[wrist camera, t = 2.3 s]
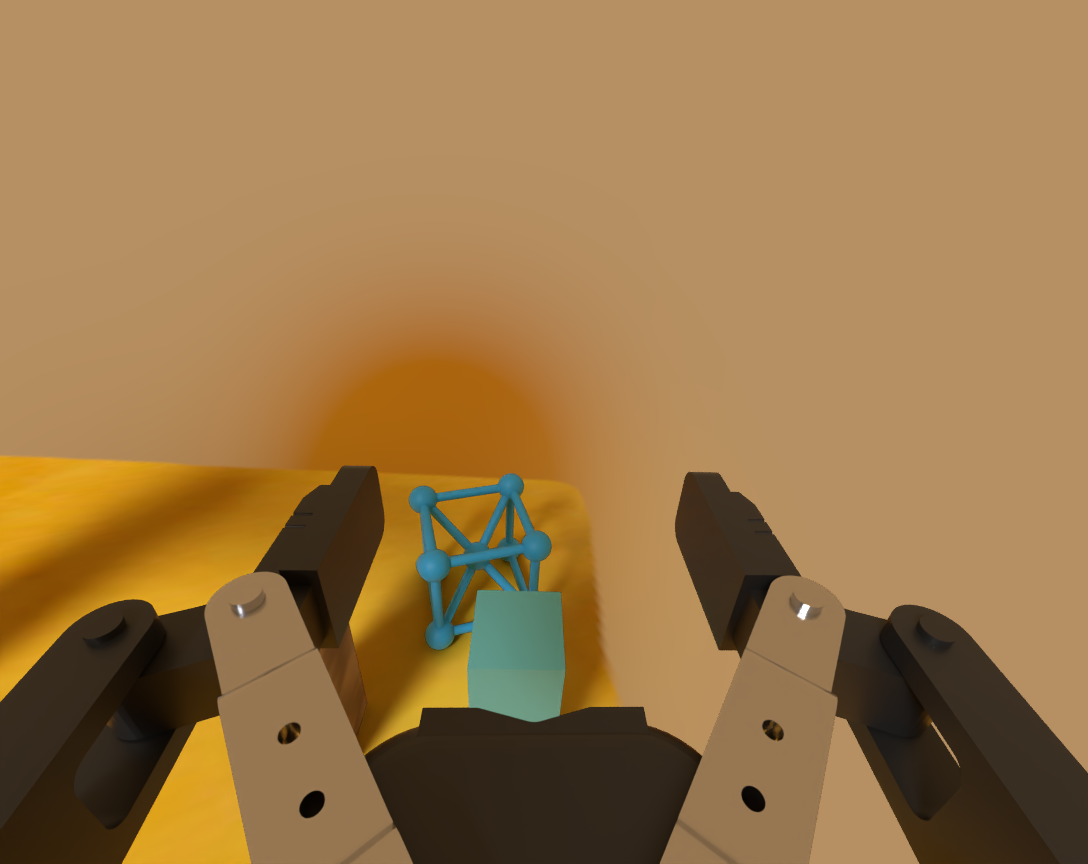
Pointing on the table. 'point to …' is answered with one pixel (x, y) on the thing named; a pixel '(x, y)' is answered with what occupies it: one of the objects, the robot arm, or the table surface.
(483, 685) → the teal pillar
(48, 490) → the table surface
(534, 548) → the molecular structure
